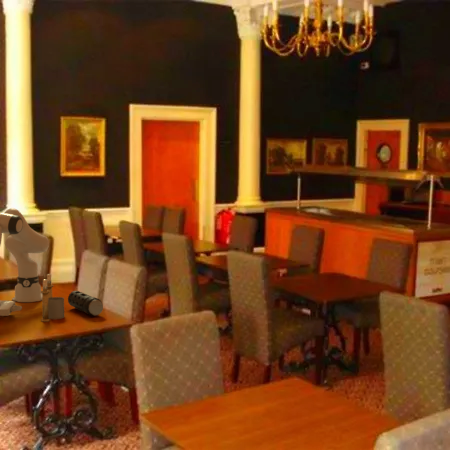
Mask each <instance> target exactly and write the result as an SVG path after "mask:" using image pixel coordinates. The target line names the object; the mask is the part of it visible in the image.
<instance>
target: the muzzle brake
mask: <svg viewBox="0 0 450 450" xmlns="http://www.w3.org/2000/svg"><path fill="white" fill-rule="evenodd" d="M67 297H68V298H67V302H68V304H69V305H70V306H71V307H73V308H74V309H76V310H78V311H80V312H82V313H86V314H87V315H88V314H89V315H88V316H90V315H91V316H90V317H94V316H99V315H100V314H101V313H102V312H103V310H104V305H103V301H102V300H101V299H100V298H98V297H95V296H91V295H88V294H86V293H84V292H82V291H79V290H73V291H71V292H70V293H69V295H68V296H67Z"/></svg>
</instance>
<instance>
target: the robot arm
mask: <svg viewBox="0 0 450 450" xmlns="http://www.w3.org/2000/svg"><path fill="white" fill-rule="evenodd" d="M3 234H5V235H8V234H9V235H8V236H7V237H6V239H5V241H4V245H5V248H6V249H7V251H8V252H10V254H11V255H13V257H14V259H15V261H16V265H17V279H16V281H17V284H16V285H15V286H14V297H12V298H11V300H1V299H0V317H8V316H10V315H11V314H12V312H18V311H22V309H23V306H21V305H16V302H18V303H33V302H39V301H40V302H41V301H42V293H41V291H42V286H41V284H40V282H39V280H40V278H39V275H38V263H37V261H36V260H35V259H33V258H31V256H30V255H29V254H42V253H46V252H47V251H48V249H49V247H50V240H49V238H48V237H47V236H46V235H43V234H40V233H39V232H37V231H36V230H34V229H33V228H32V227H30V225H29V224H28V222H27V220H26V218H25V217H24V215H23V214H22V213H21V212H20V210H18V209H16V208H14V207H11V208H9V209H7V210H5V211H4V212H0V246H1V245H2V239H3Z"/></svg>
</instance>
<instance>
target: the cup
mask: <svg viewBox="0 0 450 450" xmlns="http://www.w3.org/2000/svg"><path fill="white" fill-rule="evenodd" d="M48 311H49V318H50V320H61V319H64V318H65V297H60V296H59V297H58V296H55V297H53V296H52V298H48Z"/></svg>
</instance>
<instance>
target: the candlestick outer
mask: <svg viewBox="0 0 450 450" xmlns="http://www.w3.org/2000/svg"><path fill="white" fill-rule="evenodd" d="M49 292H50V291H48V290H47V278H44V279H42V290H41V293H42V300H41V301H42V303H41V304H42V306H41V308H42V318H41V319H40V322H42V323H49V322H51V319H50V318H49V311H48V293H49Z"/></svg>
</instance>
